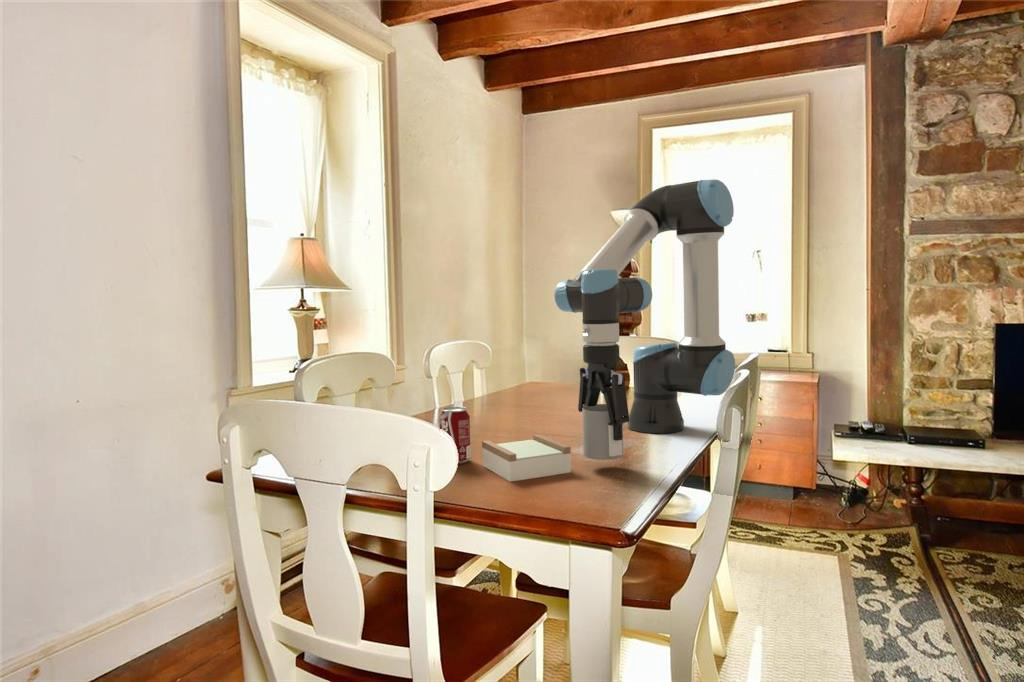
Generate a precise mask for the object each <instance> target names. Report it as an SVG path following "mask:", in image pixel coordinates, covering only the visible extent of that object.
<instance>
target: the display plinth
mask: <svg viewBox="0 0 1024 682" xmlns="http://www.w3.org/2000/svg"><path fill="white" fill-rule="evenodd" d="M571 452H572V451H571V446H570V445H567V444H564V443H562V442H559V441H557V440H554V439H552V438H550V437H547V436H545V435H541V434H532V439H527V440H525V439H524V440H519V441H518V440H516V441H510V442H503V443H494V442H493V441H491V440H482V441H481V459H482V461H481V462H482V463H481V464H482V467H484V468H486V469H488V470H490V471H491V472H493V473H494V474H496V475H498V476H499V477H501V478H502V479H504V480H506V481H509V483H510V482H518V481H524V480H530V479H537V478H542V477H550V476H555V475H556V476H557V475H562V474H569V473H572V472H571V471H572V468H571V466H572V465H571V463H572V461H571V459H572V458H571Z"/></svg>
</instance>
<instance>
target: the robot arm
mask: <svg viewBox="0 0 1024 682" xmlns="http://www.w3.org/2000/svg"><path fill="white" fill-rule="evenodd" d="M734 213H735V212H734V201H733V197H732V194H731V192H730V190H729V189H728V187H727V185H726V184H725V183H724V182H723V181H721V180H719V179H700V180H696V181H690V182H684V183H683V182H682V183H676V184H669V185H668V184H667V185H664V186H661V187H659V188H657V189H655V190H652V191H651V192H649V193H648V194H646V195H645V196H644V197H642V198H641V199H640V200H638V201H637V202H636V203H635V204H634V205H633V206H632V207H631V208H630V209H629V210H628V211H627V213H626V214H625V215H624V219H623V223H622V224H621V225H620V226H619V227H618V229H617V230H616V231H615V232H614V233H613V234H612V235H611V237H610V238H609V239H608V240H607V241H606V242H605V244H604V245H603V246H602V247H601V248H600V249H599V250H598V251H597V252H596V254H595V255H594V256H593V257H592V258H591V259H590V260H589V261H588V262H587V264H586V265H585V266H584V267H583V269H581V270H580V271H579V273H578V274H577V275H576V276H575V277H574V278H573V279H571V278H570V279H566V280H562V281H559V283H557V285H556V286H555V290H554V295H553V296H554V302H555V303H556V306H557V307H558V309H559V310H560V311H561V312H569V313H574V314H575V313H582V330H581V332H582V341H583V343H585V344H584V345H583V346H582V357H583V358H582V360H583V361H582V362H583V363H586V364H588V366H587V367H580V368H579V378H580V382H579V391H578V394H579V395H578V403H577V404H578V406H577V408H578V410H577V411H578V412H579V413H582V408H583V407H584V406H588V407H589V406H596V405H597V404H599V400H600V399H599V398H600V394H603V398H604V402H605V404H606V406H607V410H608V413H609V417H610V421H611V422H610V423H608V432H609V456H617V455H622V425H624V424H626V423H627V428H628V429H629V430H632V431H635V432H638V433H639V432H640V433H650V434H669V433H671V434H672V433H677V432H682V431H683V430H684V429H685V420H684V418H683V414H682V410H681V407H680V405H679V402H678V393H681V394H692V395H693V394H695V395H702V396H705V397H706V396H721V395H723V394H725V392H726V391H727V390H728V389H729V388H728V387H730V386H731V384H732V382H733V380H732V379H734V377H735V376H734V375H735V372H736V359H735V356H734V353H733V352H732V351H730V350H728V349H726V348H727V347H726V346H727V345H726V341H725V340H723V338H722V337H721V336H720V302H719V301H720V299H719V297H720V295H719V289H720V287H719V282H720V281H719V241H720V239H721V238H722V237H723V236H725V227H727V226H729V225H730V224H731V223H732V221H733V218H734ZM669 231H676V238H677V239H678V240H679V241H680V242H681V243H682V267H683V268H682V270H683V272H682V274H683V279H682V280H683V281H682V283H683V328H684V330H683V331H684V332H683V333H684V336H683V338H681V340H680V341H679V342H678V343H677V342H668V343H667V342H666V343H657V344H656V343H655V344H649V345H647V344H646V345H641V346H640V345H639V346H637V347H636V348H635V349H634V352H633V361H632V364H633V401H632V404H631V407H630V410H629V405H628V398H627V397H628V396H627V391H626V373H618V372H617V369H616V363H619V361H620V345H619V344H618V342H619V341H620V321H619V314H624V313H637V312H640V311H641V312H642V311H644V310H646V309H647V308H648V307H649V306H650V304H651V302H652V299H653V290H652V287H651V285H650V283H649V282H648V281H646V280H645V279H643V278H642V277H641V278H639V277H635V276H633V277H619V275H620V274H621V273H622V272H623V271H624V270H625V268H626V267H627V266H628V264H629V263H630V262H631V261H632V259H634V257H635V256H636V255H637V254H638V253H639V251H640V250H641V249H642V248H643V246H644V245H645V244H646V243H647V242H649V241H652V240H654V239H655V238H656V237H657V236H658V235H659V234H661V233H664V232H669ZM731 381H732V382H731ZM730 383H731V384H730ZM729 385H730V386H729ZM727 388H728V389H727ZM726 389H727V390H726ZM615 417H616V419H615Z"/></svg>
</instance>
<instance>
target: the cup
mask: <svg viewBox="0 0 1024 682" xmlns="http://www.w3.org/2000/svg"><path fill="white" fill-rule="evenodd" d="M583 406H584V405H583ZM581 413H582V445H583V446H582V447H583V451H582V452H583V456H584V457H585V458H588V459H592V460H598V461H607V460H610V461H611V460H616V459H620V458H622V457H623V456H624V428H623V427H624V426H623V425H624V424H623V425H622V455H617V456H609V432H608V423H610V422H611V421H610V417H609V413H608V410H607V406H606V403H597V405H596V406H589V407H588V406H584V407H583V408H582V412H581ZM615 419H616V417H615Z"/></svg>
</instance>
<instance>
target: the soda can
mask: <svg viewBox="0 0 1024 682" xmlns="http://www.w3.org/2000/svg"><path fill="white" fill-rule="evenodd" d="M467 410H468V408H467V407H464V406H446V407H442V408H441V414H440V415H439V416H438V417H439V418H438V423H439V430H440V429H442V430H444V431H445V432H447V433H448V434H449V435H450V436H451V437H452V438H453V440H454V442H455V444H456V446H457V449H458V453H459V464H458V465H462V464H466V463H467V462H469V461H470V460H471V459H472V458H471V455H472V454H471V422H470V421H471V419H470V418H471V417H470V414H469V413H468V411H467Z"/></svg>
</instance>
